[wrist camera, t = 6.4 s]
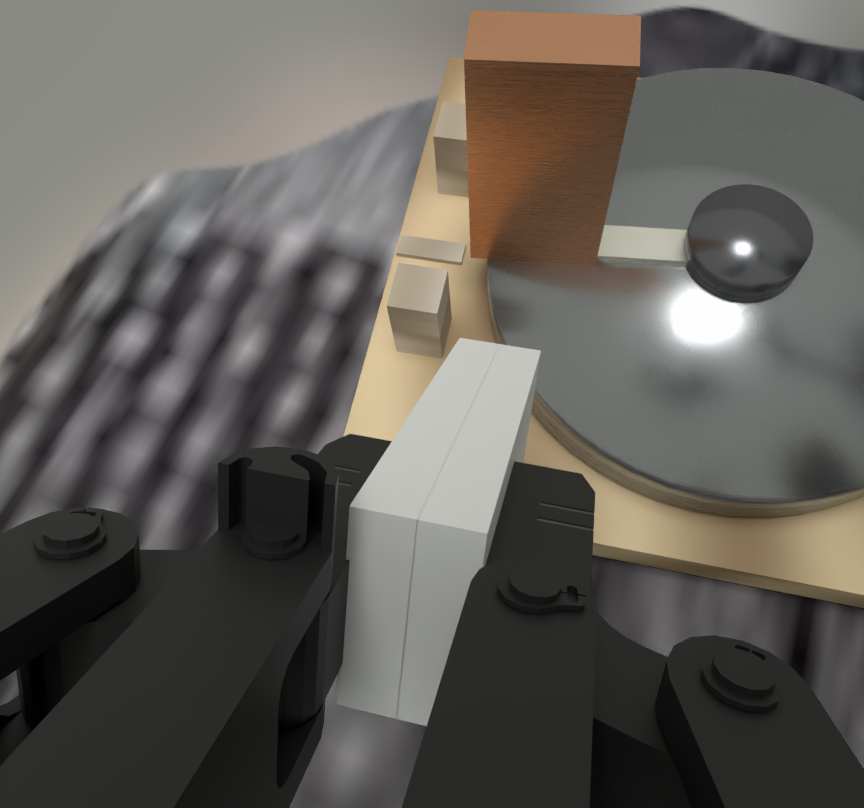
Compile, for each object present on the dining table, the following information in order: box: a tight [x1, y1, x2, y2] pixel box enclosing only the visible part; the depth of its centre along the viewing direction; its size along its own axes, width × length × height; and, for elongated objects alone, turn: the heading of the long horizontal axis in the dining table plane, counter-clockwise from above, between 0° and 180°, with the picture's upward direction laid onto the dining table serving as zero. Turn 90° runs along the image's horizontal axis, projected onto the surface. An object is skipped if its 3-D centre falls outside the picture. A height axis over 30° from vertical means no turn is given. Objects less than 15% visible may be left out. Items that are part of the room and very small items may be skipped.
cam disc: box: [464, 10, 864, 517], centre depth 22 cm, size 16×16×10 cm
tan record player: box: [343, 57, 864, 608], centre depth 26 cm, size 25×19×4 cm
